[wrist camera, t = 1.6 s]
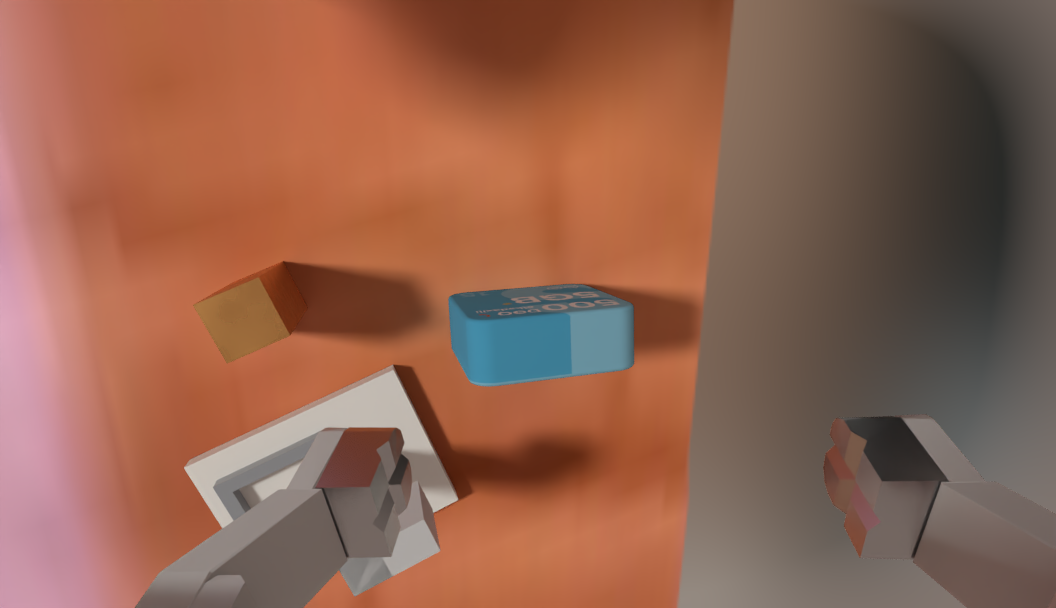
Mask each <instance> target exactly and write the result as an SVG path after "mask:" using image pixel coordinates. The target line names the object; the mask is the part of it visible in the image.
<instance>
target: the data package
mask: <svg viewBox="0 0 1056 608" xmlns="http://www.w3.org/2000/svg"><path fill="white" fill-rule="evenodd" d="M448 300H449V315H450V329H451V344H452V350H453V351H454V353H455V355H456V357H457V359H458V361H459V363H460V364H461V366H462V368H463V370H464V372H465V374H466V376H467V378H468V379H469V381H470V382H471V383H473V384H475V385H479V386H500V385H509V384H517V383H525V382H533V381H541V380H549V379H557V378H565V377H573V376H581V375H589V374H597V373H605V372H613V371H621V370H625V369H628V368H630V367H632V366H633V364H634V306H633V304H632V303H630V302H627V301H625V300H622V299H620V298H617V297H615V296H612V295H610V294H607V293H604V292H602V291H599V290H597V289H594V288H592V287H589V286H587V285H582V284H564V285H551V286H539V287H527V288H515V289H503V290H491V291H479V292H467V293H459V294H454V295H452V296H450V297H449V299H448Z"/></svg>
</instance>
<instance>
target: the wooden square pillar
mask: <svg viewBox="0 0 1056 608" xmlns="http://www.w3.org/2000/svg"><path fill="white" fill-rule="evenodd" d="M193 306H194V308H195V309H196V311H197V313H198V314H199V316H200V318H201V320H202V321H203V323H204V325H205V326H206V328H207V330H208V332H209V333H210V335H211V337H212V338H213V340H214V342H215V344H216V345H217V347H218V349H219V351H220V352H221V354H222V356H223V357H224V359H225V361H226V363H229V362H232V361H234V360H236V359H238V358H241V357H243V356H245V355H247V354H250V353H252V352H254V351H256V350H259V349H261V348H263V347H265V346H268V345H270V344H272V343H274V342H277V341H279V340H281V339H283V338H286V337H288V336H290V335H291V333H292V332H293V330H294V329H295V327H296V325H297V324H298V322H299V321H300V319H301V317H302V316H303V314H304V313H305V311H306V309H307V308H308V307H307V305H306V304H305V302H304V300H303V298H302V296H301V294H300V292H299V290H298V288H297V286H296V284H295V283H294V281H293V279H292V277H291V275H290V273H289V271H288V269H287V267H286V265H285V264H284V262H280V263H278V264H276V265H273V266H271V267H269V268H266V269H264V270H261V271H259V272H257V273H254V274H252V275H250V276H247V277H245V278H242V279H240V280H238V281H235V282H233V283H231V284H229V285H227V286H226V287H224V288H222V289H220V290H219V291H217V292H215V293H213V294H212V295H210V296H208V297H206V298H205V299H203V300H201V301H199V302H197V303H196V304H194V305H193Z"/></svg>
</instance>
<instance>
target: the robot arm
mask: <svg viewBox="0 0 1056 608" xmlns="http://www.w3.org/2000/svg"><path fill="white" fill-rule="evenodd" d="M830 436H831V438H832V439H833V441H834V443H835V446H834V447H832V448H831V449H830V450H829V451H828V452H827V453H826V455H825V461H824V479H825V484H826V488H827V491H828V494H829V496H830V498H831V500H832V502H833V505H834V506H835V507H837V508H838V509H840V510H841V511H842V512H844V513H845V514H847V515H846V519H845V523H844V527H845V529H846V531H847V533H848V535H849V537H850V539H851V541H852V543H853V545H854V547H855V549H856V551H857V553H858V555H859V557H860V558H877V559H913V562H914V563H915V564H916V565H917V566H918V567H920V568H921V569H922V570H923V571H924V572H925V573H927V574H928V575H929V576H930V577H931V578H933V579H934V580H935V581H936V582H937V583H938V584H940V585H941V586H942V587H943V588H944V589H946V590H947V591H948V592H949V593H950V594H951V595H953V596H954V597H955V598H956V599H957V600H959V601H960V602H961V603H962V604H963V605H964V606H966V607H967V608H1056V514H1055V513H1053V512H1051V511H1049V510H1048V509H1046V508H1044V507H1042V506H1040V505H1038V504H1036V503H1034V502H1033V501H1031V500H1028V499H1027V498H1025V497H1023V496H1021V495H1019V494H1017V493H1016V492H1014V491H1012V490H1010V489H1008V488H1006V487H1005V486H1003V485H1001V484H999V483H997V482H986V481H985V480H984V479H983V478H982V476H981V475H980V474H979V473H978V472H977V471H976V469H975V468H974V467H973V466H972V464H971V463H970V462H969V461H968V460H967V458H966V457H965V456H964V455H963V454H962V452H961V451H960V450H959V449H958V448H957V446H956V445H955V444H954V443H953V442H952V440H951V439H950V438H949V437H948V436H947V434H946V433H945V432H944V431H943V430H942V428H941V427H940V426H939V425H938V424H937V422H936V421H935V420H934V419H933V418H932V417H930V416H928V415H926V414H922V415H898V416H883V417H847V418H836V419H835V421H834V422H833V424H832V427H831V432H830ZM403 446H404V439H403V436H402V433H401V430H400V429H398V428H380V427H349V428H324V429H323V430H321V431H320V432H319V433H318V435H317V436H316V438H315V440H314V442H313V443H312V445H311V447H310V449H309V450H308V452H307V454H306V456H305V457H304V459H303V461H302V463H301V464H300V466H299V468H298V469H297V471H296V473H295V475H294V476H293V478H292V480H291V482H290V483H289V485H288V487H287V489H279V490H277V491H276V492H274V493H273V494H271V495H270V496H269V497H267V498H266V499H264V500H263V501H261V502H260V503H259V504H257V505H256V506H254V507H253V508H251V509H250V510H249V511H247V512H246V513H244V514H243V515H241V516H240V517H238V518H237V519H236V520H234V521H233V522H231V523H230V524H228V525H227V526H226V527H224V528H223V529H221V530H220V531H218V532H217V533H215V534H214V535H213V536H211V537H210V538H208V539H207V540H205V541H204V542H203V543H201V544H200V545H198V546H197V547H195V548H194V549H192V550H191V551H190V552H188V553H187V554H185V555H184V556H182V557H181V558H180V559H178V560H177V561H175V562H174V563H172V564H171V565H169V566H168V567H167V568H165V569H164V570H162V571H161V572H160V573H159V574H158V575H157V577H156V578H155V580H154V581H153V582H152V584H151V585H150V587H149V588H148V590H147V591H146V592H145V594H144V595H143V597H142V598H141V599H140V601H139V602H138V604H137V605H136V607H135V608H303V607H304V606H305V605H306V604H307V603H308V602H309V601H310V600H311V599H312V598H313V597H314V596H315V595H316V594H317V593H318V591H319V590H320V589H321V588H322V587H323V586H324V585H325V584H326V583H327V582H328V581H329V580H330V579H331V578H332V577H333V576H334V575H335V574H336V573H337V571H338V570H339V569H340V568H341V567H342V566H343V565H344V564H345V563H346V562H347V558H374V557H391V556H392V553H393V550H394V547H395V544H396V541H397V538H398V535H399V532H400V528H401V526H400V522H399V519H398V516H399V515H400V514H401V513H402V512H403V511H404V510H405V509H407V506H408V503H409V499H410V496H411V487H412V473H411V466H410V462H409V460H408V459H407V458H406V457H405V456H404V455H403V454H401V452H402V449H403Z"/></svg>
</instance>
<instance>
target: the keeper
mask: <svg viewBox="0 0 1056 608" xmlns="http://www.w3.org/2000/svg"><path fill="white" fill-rule="evenodd" d="M349 427H380V428H398V429H400V430H401V433H402V436H403V439H404V446H403V449H402V452H401V454H403V455H404V456H405V457H406V458H407V459H408V460H409V462H410V466H411V473H412V487H411V496H410V499H409V503H408V506H407V509H405V510H404V511H403V512H402V513H401V514H400V515H399V516H398V519H399V522H400V526H401V528H400V532H399V535H398V538H397V541H396V544H395V547H394V550H393V553H392V556H391V557H374V558H347V562H346V563H345V564H344V565H343V566H342V567H341V568H340V569H339V571H340V572H341V574H342V576H343V578H344V579H345V581H346V583H347V584H348V586H349V588H350V589H351V591H352V593H353V595H354V596H357V595H358V594H360V593H362V592H364V591H366V590H368V589H370V588H372V587H373V586H375V585H377V584H379V583H381V582H383V581H385V580H387V579H389V578H390V577H392V576H394V575H396V574H398V573H400V572H402V571H404V570H405V569H407V568H409V567H411V566H413V565H415V564H417V563H419V562H420V561H422V560H424V559H426V558H428V557H430V556H432V555H434V554H436V553H437V552H439V551H440V546H439V541H438V535H437V530H436V525H435V520H434V515H433V513H434V512H436V511H438V510H440V509H442V508H444V507H446V506H448V505H450V504H451V503H453V502H455V501H457V500H458V497H457V493H456V491H455V488H454V486H453V484H452V482H451V480H450V478H449V476H448V474H447V472H446V470H445V468H444V466H443V464H442V462H441V460H440V458H439V456H438V454H437V452H436V450H435V448H434V446H433V444H432V442H431V440H430V438H429V436H428V434H427V432H426V430H425V428H424V426H423V424H422V422H421V420H420V418H419V416H418V414H417V412H416V410H415V408H414V406H413V404H412V402H411V400H410V398H409V396H408V394H407V392H406V390H405V388H404V386H403V384H402V382H401V380H400V378H399V376H398V374H397V372H396V370H395V368H394V366H393V365H391V366H389V367H387V368H385V369H383V370H381V371H378V372H376V373H374V374H372V375H370V376H368V377H366V378H363V379H361V380H359V381H357V382H355V383H353V384H351V385H348V386H346V387H344V388H342V389H340V390H338V391H336V392H333V393H331V394H329V395H327V396H325V397H323V398H321V399H318V400H316V401H314V402H312V403H310V404H308V405H306V406H304V407H301V408H299V409H297V410H295V411H293V412H291V413H289V414H286V415H284V416H282V417H280V418H278V419H276V420H274V421H271V422H269V423H267V424H265V425H263V426H261V427H259V428H256V429H254V430H252V431H250V432H248V433H246V434H244V435H241V436H239V437H237V438H235V439H233V440H231V441H229V442H226V443H224V444H222V445H220V446H218V447H216V448H214V449H211V450H209V451H207V452H205V453H203V454H201V455H199V456H196V457H194V458H192V459H190V460H189V462H188V463H187V464H186V466H185V467H184V469H185V470H186V472H187V473H188V475H189V477H190V478H191V480H192V481H193V483H194V484H195V486H196V488H197V489H198V491H199V492H200V494H201V495H202V497H203V499H204V500H205V502H206V503H207V505H208V506H209V508H210V510H211V511H212V513H213V514H214V516H215V517H216V519H217V521H218V522H219V524H220V525H221V527H222V528H224V527H226V526H227V525H228V524H230V523H231V522H233V521H234V520H236V519H237V518H238V517H240V516H241V515H243V514H244V513H246V512H247V511H249V510H250V509H251V508H253V507H254V506H256V505H257V504H259V503H260V502H261V501H263V500H264V499H266V498H267V497H269V496H270V495H271V494H273V493H274V492H276V491H277V490H279V489H287V487H288V485H289V483H290V482H291V480H292V478H293V476H294V475H295V473H296V471H297V469H298V468H299V466H300V464H301V463H302V461H303V459H304V457H305V456H306V454H307V452H308V450H309V449H310V447H311V445H312V443H313V442H314V440H315V438H316V436H317V435H318V433H319V432H320V431H321V430H323V429H324V428H349Z"/></svg>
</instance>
